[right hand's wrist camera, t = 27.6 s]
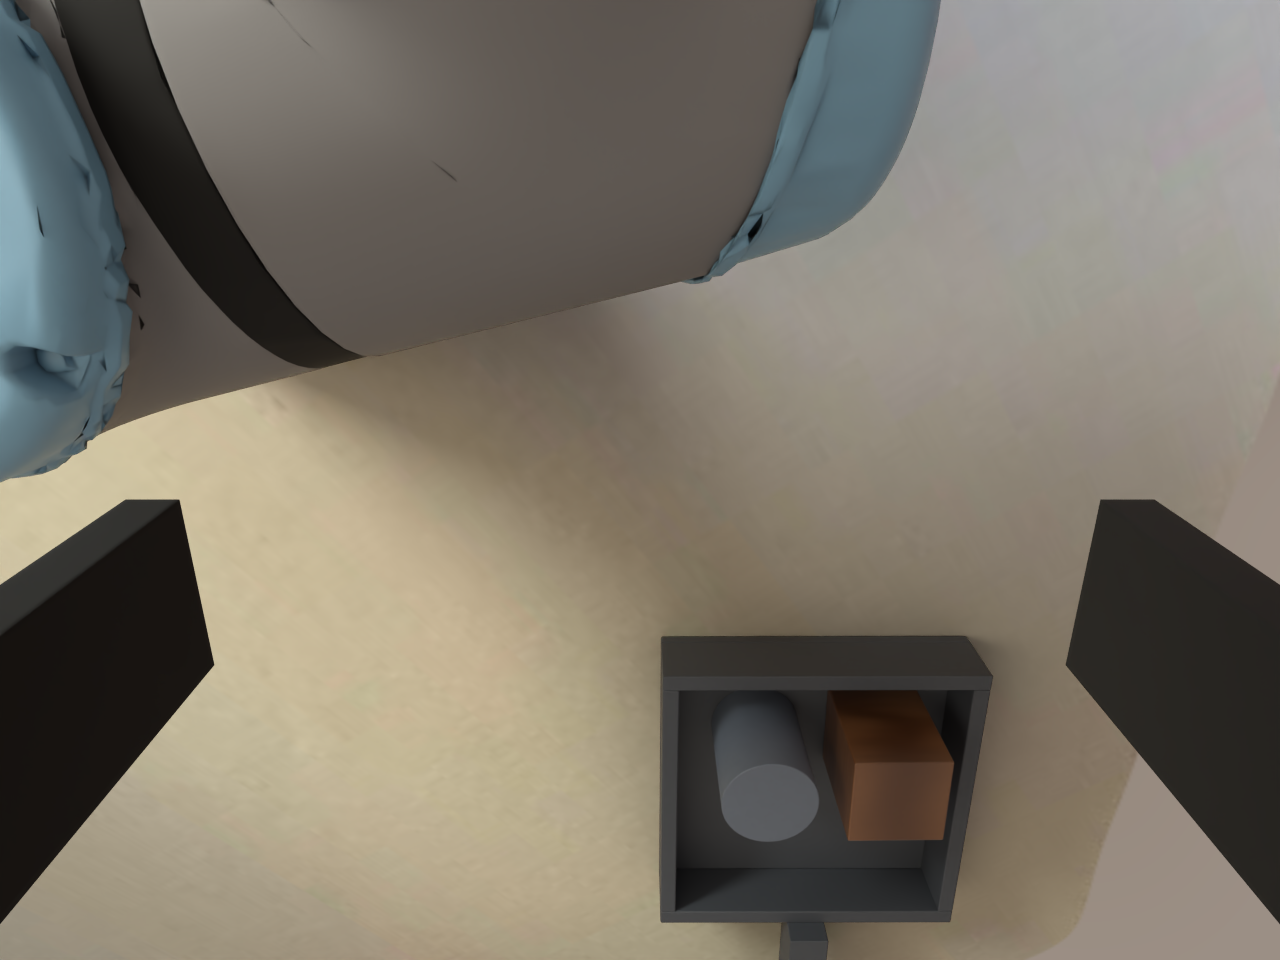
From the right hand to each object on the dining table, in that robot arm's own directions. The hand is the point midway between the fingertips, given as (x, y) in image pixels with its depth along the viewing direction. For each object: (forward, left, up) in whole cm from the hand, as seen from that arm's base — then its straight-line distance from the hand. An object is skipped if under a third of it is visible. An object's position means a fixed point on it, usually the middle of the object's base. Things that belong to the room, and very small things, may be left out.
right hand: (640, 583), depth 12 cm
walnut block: (+12, -22, -26) cm, 36 cm away
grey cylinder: (+6, -22, -26) cm, 35 cm away
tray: (+9, -30, -27) cm, 41 cm away
